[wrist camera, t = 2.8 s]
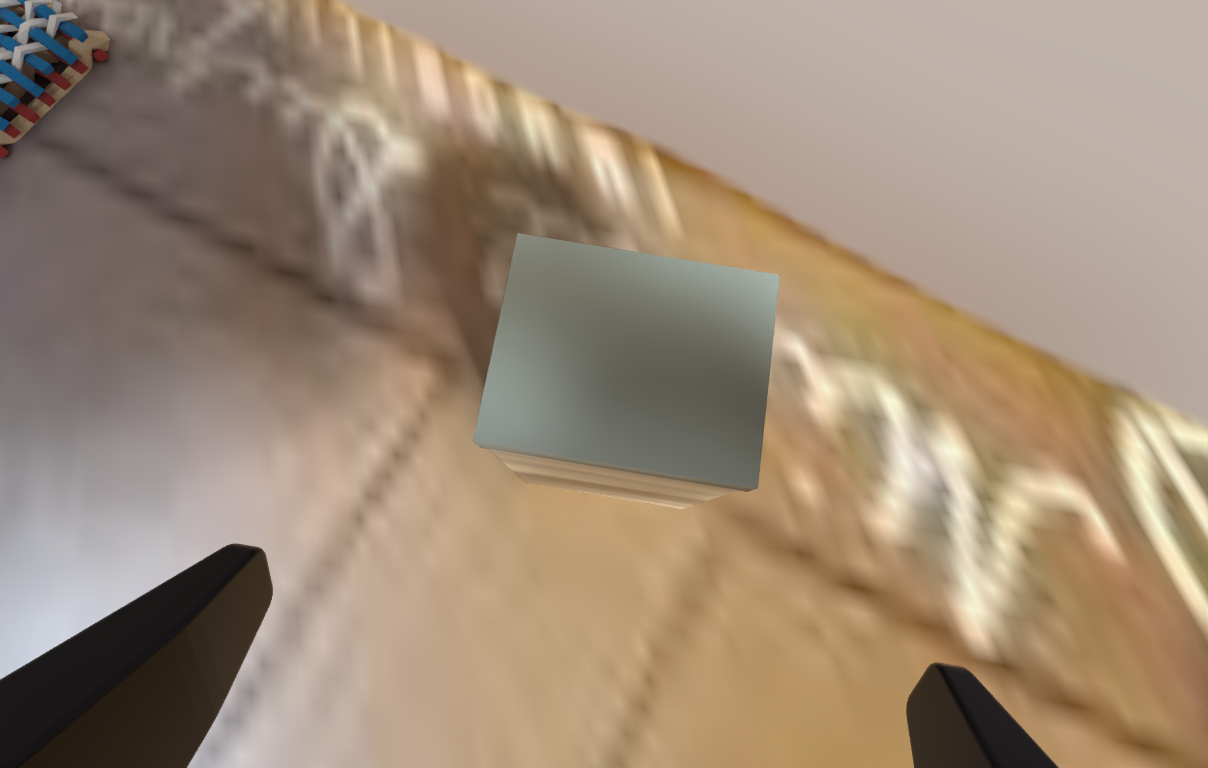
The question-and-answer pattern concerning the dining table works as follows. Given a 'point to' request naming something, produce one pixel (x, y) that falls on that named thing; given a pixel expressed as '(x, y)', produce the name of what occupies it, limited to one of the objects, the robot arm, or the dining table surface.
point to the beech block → (629, 373)
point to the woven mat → (40, 60)
